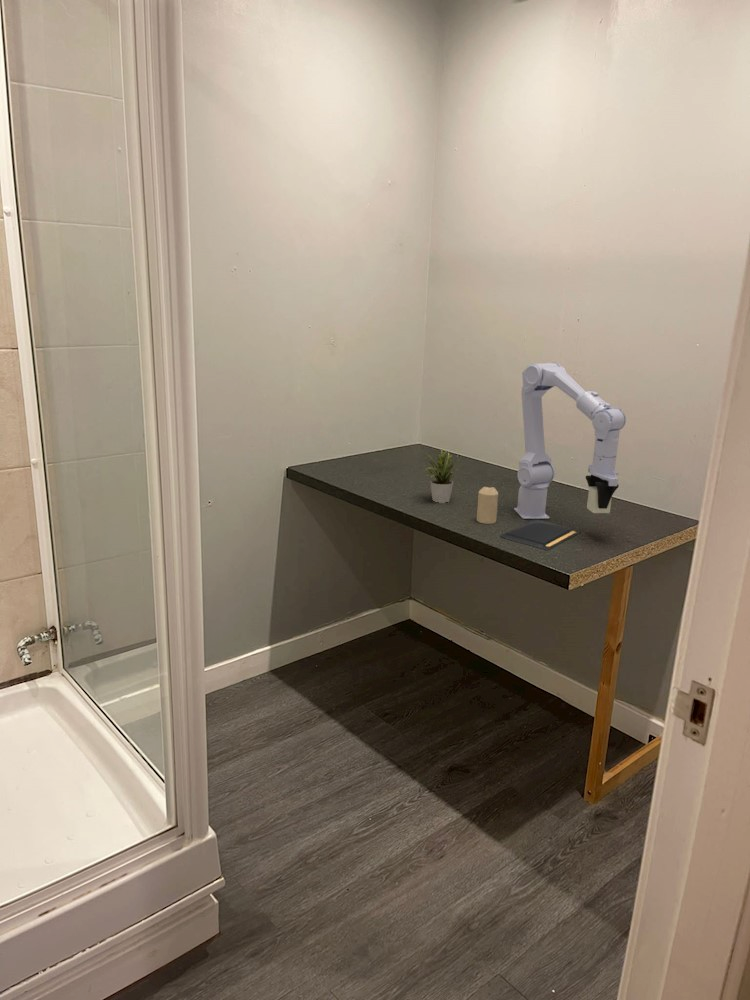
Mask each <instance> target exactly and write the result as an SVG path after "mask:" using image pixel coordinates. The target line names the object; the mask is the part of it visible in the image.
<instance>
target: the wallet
mask: <svg viewBox="0 0 750 1000" xmlns="http://www.w3.org/2000/svg"><path fill="white" fill-rule="evenodd" d="M581 533H582V532H581V531H579V530H575V529H573V528H570V527H567V526H563V525H560V524H559V525H558V524H555V523H551V522H548V521H543V520H541V519H532V520H531V521H528V522H526V523H524V524H522V525H520V526H518V527H515V528H514V529H512V530H509V531H507V532H505V533H502V534H501V535H499V536H500V537H499V538H500V539H503V540H506V539H507V540H506V541H511V542H514V543H518V544H522V545H525V546H528V547H533V548H536V549H539V550H544V551H548V552H549V551H551V550H552V549H555V548H556V547H558V546H559V545H561V544H562V543H565V542H566V541H568V540H571V539H573V538H574V537H576V536H578V535H579V534H581Z"/></svg>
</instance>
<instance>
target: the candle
mask: <svg viewBox="0 0 750 1000" xmlns="http://www.w3.org/2000/svg"><path fill="white" fill-rule="evenodd" d="M498 501H499V492H498V490H497V489H496V487H493V486H490V487H488V486H483V487H482V488H481V489H479V490H478V497H477V512H476V521H477V522H478V523H480V524H483V525H484V524H485V525H492V524H493V525H494V524H495V523H496V522H497V517H498V516H497V514H498V503H499V502H498Z"/></svg>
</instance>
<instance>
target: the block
mask: <svg viewBox="0 0 750 1000" xmlns="http://www.w3.org/2000/svg"><path fill="white" fill-rule="evenodd" d="M612 499H613V496H612V497H611V499H610V502H609V504H608V507H607V509H600V508H598V492H597V487H596V486H588V494H587V504H586V509H588V511H590V512H591V513H592V514H610V513H611V506H612Z"/></svg>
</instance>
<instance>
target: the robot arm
mask: <svg viewBox="0 0 750 1000" xmlns="http://www.w3.org/2000/svg"><path fill="white" fill-rule="evenodd" d="M521 375H522V376H521V377H522V387H521V404H522V418H523V419H522V420H523V434H524V435H523V437H524V447H525V449H524V451H525V453H524V455H523V456H522V457H521V458H520V459H519V460H518V470H517V480H518V482H519V484H520V487H519V488H518V494H517V495H518V497H517V505H516V506H517V507H514V508H513V510H514V511H515V512H516V513H517V514H518V515H519V516H520V518H521V519H523V520H549V519H550V518H551V517H550V516H549V515H548V514H547V513H546V507H547V497H548V495H547V494H548V487H550V483H551V482H553V480H554V478H555V475H556V474H555V473H556V472H555V469H554V468H555V467H554V465H553V462H552V457H551V456H550V455H548V453H546V447H545V432H544V416H543V415H544V413H543V402H542V401H543V400H542V398H543V396H544V395H546V393H547V392H548V391H549V390H551V389H552V388H554V387H557V388H558V389H559V390H560V391H562V392H563V393H564V394H566V395H568V397H570V398H571V399H572V400H574V401H575V402H576V405H575V406H576V408H577V409H578V410H579V411H580V412H581V413H582V414H584V415H585V416H586V418H588V419H589V420H590V421H591V423H592V427H593V429H594V437H595V438H594V439H595V440H594V447H593V455H592V463H591V464H588V469H587V472H588V473H590V475H585V480H586V483H587V485H588V487H589V486H596V487H597V492H598V508H600V509H607V507H608V504H609V502H610V499H611V497H612V498H613V495H614V493H615V492H616V490H617V489H618V488H619V484H618V482H619V478H617V476H618V475H619V474H620V473H619V471H617V470H616V463H617V454H618V447H619V441H620V433H621V431H620V430H622V429H623V428H624V427H625V425H626V422H627V418H626V417H627V416H626V415H625V413H624V411H623V410H622V409H621V408H619V407H612V406H611V403H609V402H606V401H605V400H603V398H601V397H600V396H599V393H598V392H597V391H592V390H587V391H586V390H585V389H583V388H582V386H580V385H579V384H578V382H576V380H574V379H573V377H572V376H570V375H569V374H568V373H567V372H566V368H565V367H563V366H561V364H560V363H559V362H555V361H554V362H547V363H546V362H544V363H543V362H542V363H530V364H528V365H527V366H526V367H525V369H524V370H523V371H522V373H521Z"/></svg>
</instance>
